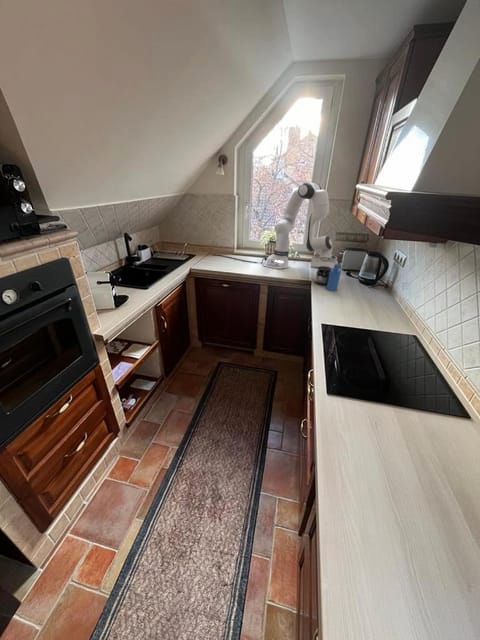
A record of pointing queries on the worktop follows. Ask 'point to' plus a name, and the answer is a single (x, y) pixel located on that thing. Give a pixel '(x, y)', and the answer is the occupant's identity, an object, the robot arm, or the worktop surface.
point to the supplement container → (322, 275)
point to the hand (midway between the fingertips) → (322, 274)
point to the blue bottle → (334, 278)
